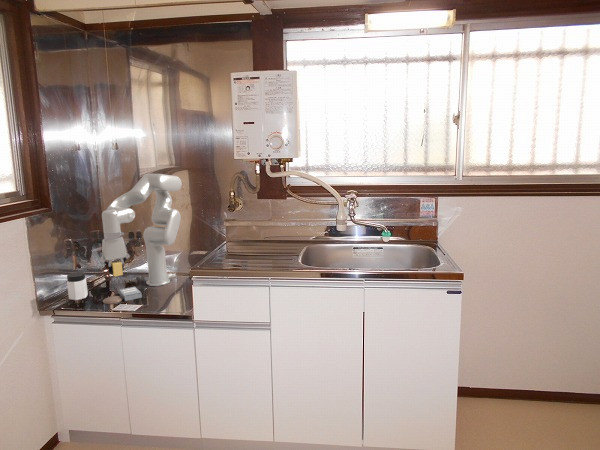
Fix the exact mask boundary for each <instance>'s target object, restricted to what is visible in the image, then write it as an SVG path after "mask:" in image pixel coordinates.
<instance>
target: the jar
mask: <svg viewBox="0 0 600 450" xmlns="http://www.w3.org/2000/svg"><path fill="white" fill-rule="evenodd" d="M66 280H67V281H66V286H67V295H68V300H72V301H79V300H82V299H86V298H87V296H88V295H89V292H88V285H87V278H86V274H85V272H83V271H79V272H78V271H77V272H71V273H69V274H67V275H66Z"/></svg>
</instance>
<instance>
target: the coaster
mask: <svg viewBox="0 0 600 450" xmlns="http://www.w3.org/2000/svg"><path fill="white" fill-rule="evenodd" d="M123 300H124V299H123V298H122V296H121V295H120V296H119V295H113V296H108V297H104V299H103V300H102V303H103V304H104V305H115V304H118V303H121V302H122V301H123Z"/></svg>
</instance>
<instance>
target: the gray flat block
mask: <svg viewBox="0 0 600 450" xmlns="http://www.w3.org/2000/svg"><path fill="white" fill-rule="evenodd" d="M118 291H119V293H118V294H119V295H120V296H121V297H122V299H123V300H124V301H125V302H128V301H133V300H137V299H141V298H143V294H142V292H141V291H140V290H139V289H138V288H137V287H136V286H132V287H127V288H126V287H125V288H120V289H119V290H118Z"/></svg>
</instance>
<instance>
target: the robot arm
mask: <svg viewBox="0 0 600 450" xmlns="http://www.w3.org/2000/svg"><path fill="white" fill-rule="evenodd" d="M182 184H183V183H182V180H181V178H180V177H179V176H177V175H172V174H171V175H170V174H165V173H164V174H163V173H146V174H144V175H143V176H142V177H141V178H140V179H139V180H138V181H137V182H136V184H135V185H134V186H133V187H132V189H130V190H128V191H127V192H125V193H122V194H121V195H120V196H118V197H116V198H115V199H114V200H113V201H112V202H111V203H109V205H108V206H107V208H106V210H103V211H102V213H101V219H102V228H103V239H102V240H101V242H102V243H101V250H102V251H101V257H100V259H99V262H100V263H102V264H105V265H106V266H107V268H108V273H110V275H112V274H113V268H112V265H111V262H112V261H116V260H119V261H120V262H121V263H122V270H123V271H124V270H125V267H124V264H125V262H126V261H127V260H128V259H129V258H130V257H131V255H130V253H128V252H127V249H126V244H125V239H124V238H123V236H124V235H125V232H124V231H122V230H121V229H122V228H121V224H127V223H129V224H130V223H131V222H133V221H134V220H135V218H136V212H135V210H134V209H133V208H130V207H132V206H136V205H140V204H143V203H144V202H145V201H146V200H147V199H148V198H149V197H150V195H151V193H153V191H154V193H155V196H156V200H155V203H154V206H153V210H152V214H151V222H152V223H153V225H157V226H149V227H146V228H145V229H144V231H143V235H142V236H143V241H144V243H145V248H146V258H147V267H148V268H147V269H148V270H147V271H148V272H147V273H148V280H146V282H145V283H146V285H147V286H151V287H160V286H161V287H162V286H165V285H167V284H170V282H171V278H176V277H177V274H176V273H175V272H174V273H168V272H167V259H166V257H167V256H166V249H165V247H164V246H171V245H173V244H174V243H175V241H176V239H177V237H178V233H179V232H178V231H179V228H180V224H181V219H182V216H181V213H180V211H179V210H178V209H176V208H172V203H173V200H172V197H171V194H170V192H179V190H181V188H182Z"/></svg>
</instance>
